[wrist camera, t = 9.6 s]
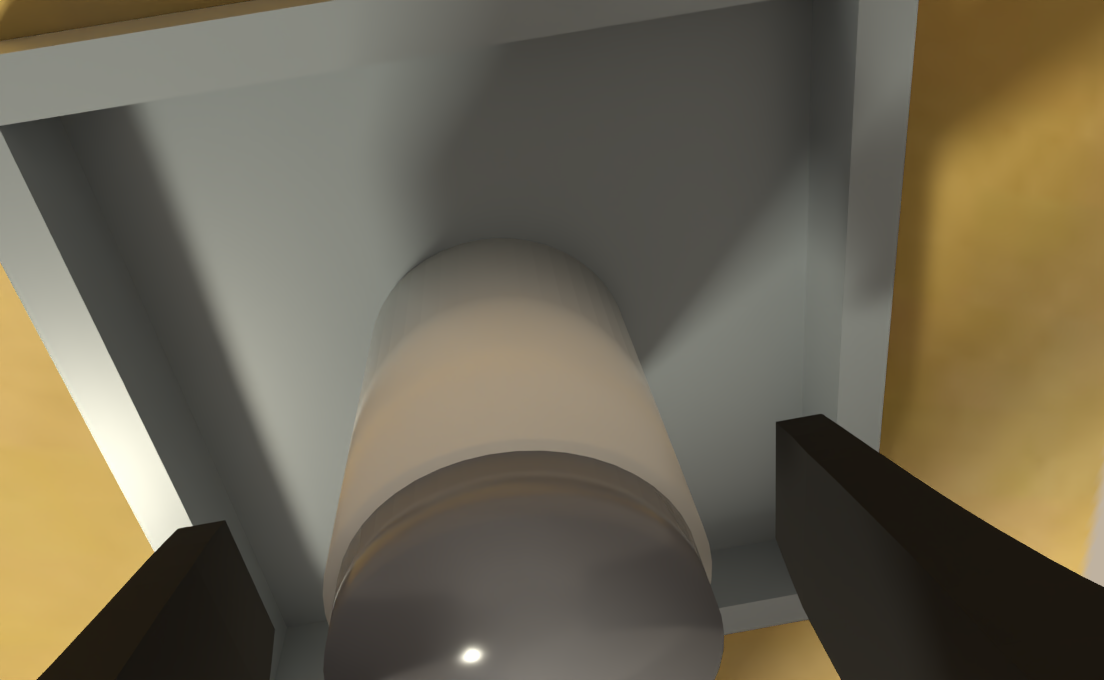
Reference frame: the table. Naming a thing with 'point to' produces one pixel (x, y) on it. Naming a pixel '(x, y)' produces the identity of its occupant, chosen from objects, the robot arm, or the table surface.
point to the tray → (451, 236)
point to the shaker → (513, 489)
